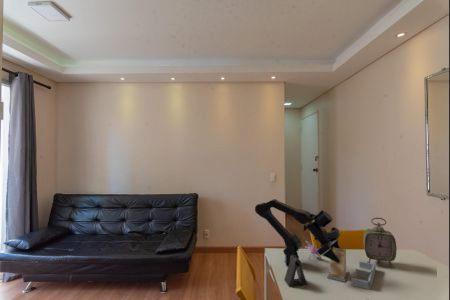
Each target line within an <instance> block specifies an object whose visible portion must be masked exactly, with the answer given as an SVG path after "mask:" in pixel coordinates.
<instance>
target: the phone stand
mask: <svg viewBox="0 0 450 300" xmlns="http://www.w3.org/2000/svg"><path fill="white" fill-rule="evenodd" d="M294 256H295V255H294ZM294 256H293V255H291V256H290V263H289V266H287V270H286V273H285V276H284V282H285V283H286V285H287V286H288V287H289V288H291V287H292V288H293V287H302V286H308V285H309V284H308V281H307V279H306V276H305V274H304V271H303V268H302V261H301V259H300V258H299V259H298V258H297V257H296V256H295V258H294ZM296 274H297V278H295V276H296Z"/></svg>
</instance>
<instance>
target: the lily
mask: <svg viewBox="0 0 450 300" xmlns="http://www.w3.org/2000/svg"><path fill="white" fill-rule="evenodd" d="M304 240H305V239H304ZM305 243H306V244H307V246H304V248H305V249H307V250H309V252H310V255H309V258H308V260H310V259H311V256H313V255H315V256H317V257H318V258H320V259H322V255H320V254H319V253H318V249H319V248H317V246H316V245H314V244H313V245H312V244H311V242H309V241H307V240H305Z"/></svg>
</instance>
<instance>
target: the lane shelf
mask: <svg viewBox="0 0 450 300" xmlns="http://www.w3.org/2000/svg"><path fill="white" fill-rule="evenodd" d="M358 265H359V268H355V275H356V276H357V277H361V278H365V279H367V280H363V279H359V278H354V277H351V286H355V287H359V288H362V289H366V290H371V289H372V288H371V287H372V284H373V281H374V277H375V273H376V270H377V269H376V266H377V265H376V262H375V261H374V262H370V263H367V261H361V260H359V264H358ZM363 269H366V270H363ZM367 270H370V271H367Z"/></svg>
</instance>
